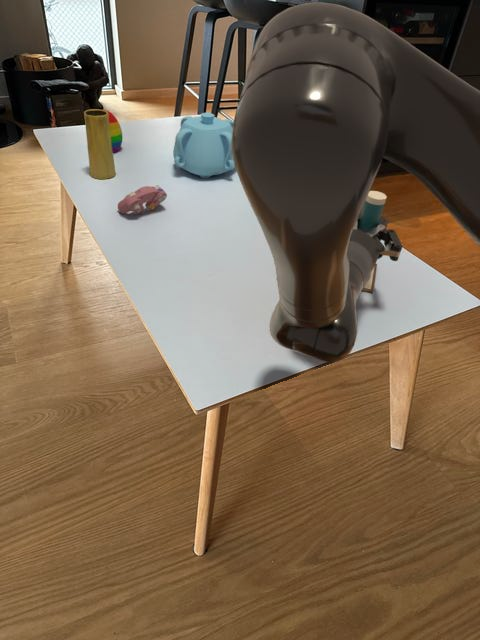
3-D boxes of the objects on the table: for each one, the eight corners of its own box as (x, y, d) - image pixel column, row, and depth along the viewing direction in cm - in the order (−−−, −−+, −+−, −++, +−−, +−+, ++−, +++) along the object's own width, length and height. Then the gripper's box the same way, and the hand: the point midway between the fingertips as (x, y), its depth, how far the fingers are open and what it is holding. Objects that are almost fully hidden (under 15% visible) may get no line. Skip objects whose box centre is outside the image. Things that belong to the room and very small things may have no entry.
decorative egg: (101, 157, 121) (97, 117, 114) (86, 147, 125) (81, 108, 119) (129, 151, 125) (126, 112, 119) (113, 142, 130) (110, 104, 123)
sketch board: (376, 265, 90) (377, 263, 90) (372, 293, 83) (373, 291, 83) (326, 254, 92) (326, 251, 92) (317, 280, 85) (318, 278, 84)
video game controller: (125, 224, 98) (132, 203, 92) (114, 208, 99) (120, 185, 93) (164, 212, 103) (172, 191, 98) (153, 197, 104) (161, 175, 98)
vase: (101, 181, 109) (94, 118, 100) (84, 173, 112) (75, 111, 103) (121, 174, 113) (115, 113, 104) (104, 167, 116) (97, 106, 107)
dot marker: (366, 260, 85) (387, 193, 76) (365, 269, 82) (386, 200, 74) (349, 256, 85) (367, 189, 77) (347, 265, 83) (366, 196, 75)
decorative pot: (181, 154, 127) (181, 101, 118) (239, 161, 126) (243, 108, 118) (167, 177, 114) (166, 120, 106) (232, 185, 114) (236, 128, 105)
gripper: (402, 256, 64) (419, 209, 77) (306, 229, 68) (337, 188, 81) (386, 299, 69) (405, 248, 82) (297, 271, 73) (328, 226, 85)
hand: (371, 218), depth 81 cm, fingers closed on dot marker, 3 cm apart
